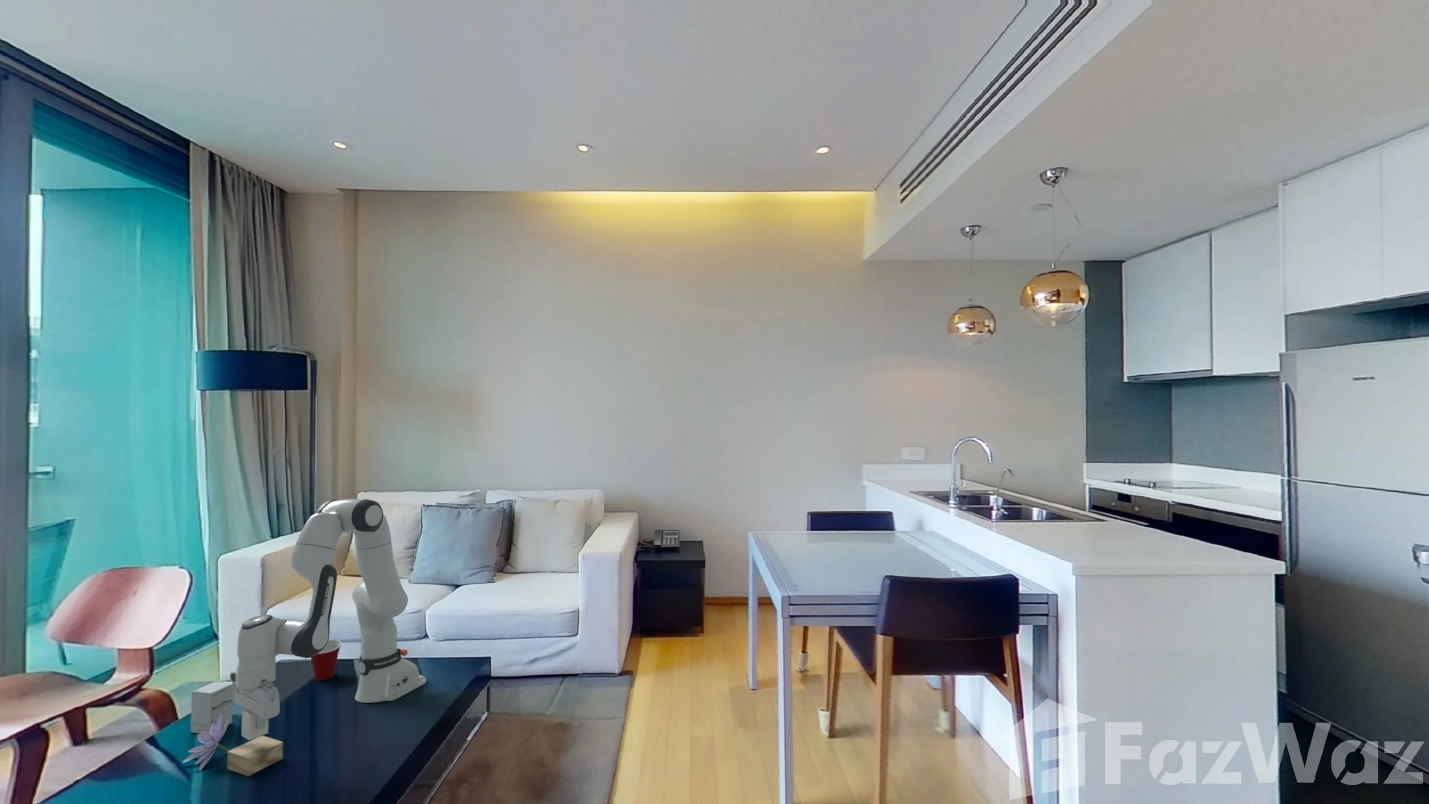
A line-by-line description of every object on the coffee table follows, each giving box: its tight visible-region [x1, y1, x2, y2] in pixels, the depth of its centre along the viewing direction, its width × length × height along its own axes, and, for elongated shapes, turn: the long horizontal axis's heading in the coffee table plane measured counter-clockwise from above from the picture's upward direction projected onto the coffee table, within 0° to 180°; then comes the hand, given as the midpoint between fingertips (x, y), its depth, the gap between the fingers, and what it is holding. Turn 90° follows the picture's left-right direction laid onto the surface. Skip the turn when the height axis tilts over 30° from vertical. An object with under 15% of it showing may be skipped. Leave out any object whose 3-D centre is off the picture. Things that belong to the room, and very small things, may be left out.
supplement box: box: [190, 681, 233, 734], centre depth 190 cm, size 7×7×13 cm
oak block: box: [227, 735, 284, 777], centre depth 171 cm, size 9×9×5 cm
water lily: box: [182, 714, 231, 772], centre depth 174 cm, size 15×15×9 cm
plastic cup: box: [310, 639, 343, 681], centre depth 226 cm, size 11×11×12 cm
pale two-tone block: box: [241, 708, 269, 741], centre depth 171 cm, size 5×5×8 cm
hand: (255, 725), depth 171 cm, fingers closed on pale two-tone block, 5 cm apart
